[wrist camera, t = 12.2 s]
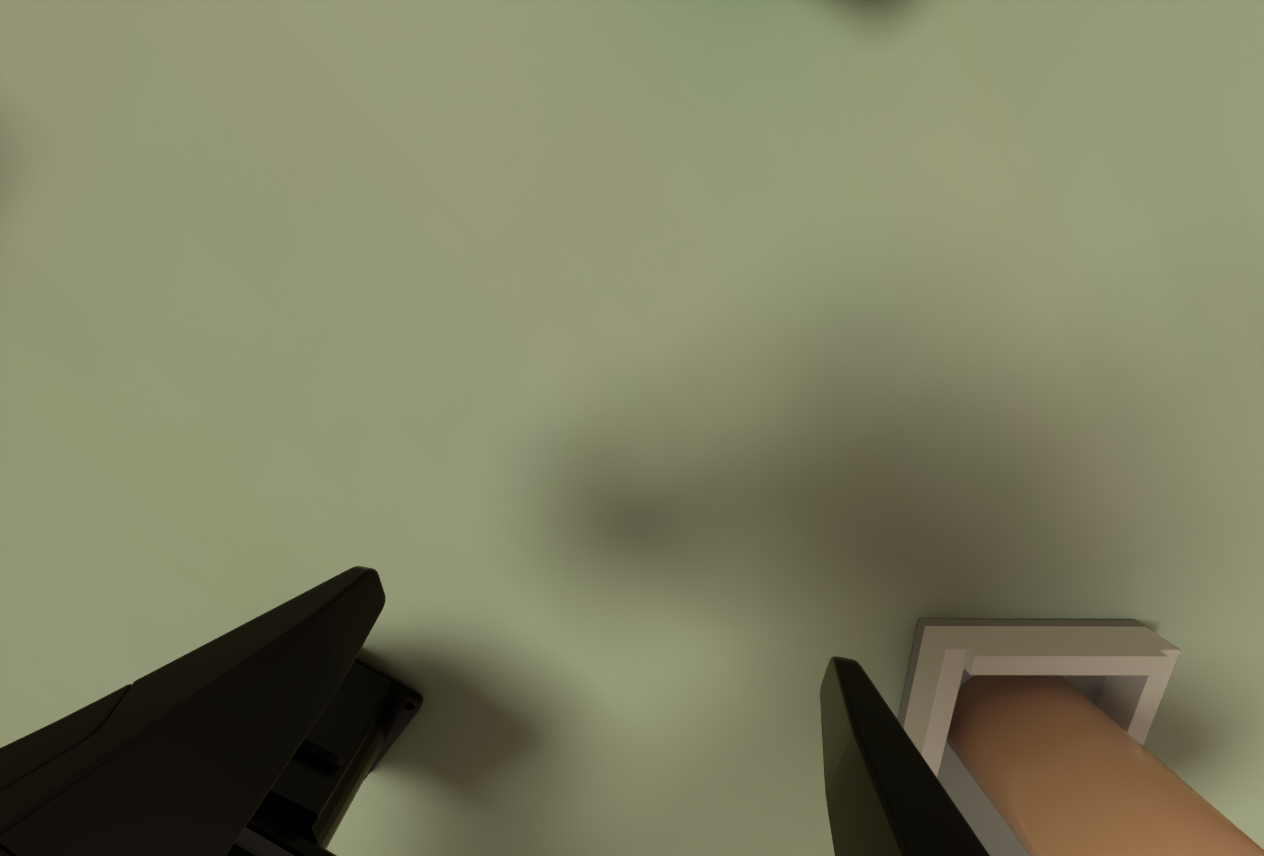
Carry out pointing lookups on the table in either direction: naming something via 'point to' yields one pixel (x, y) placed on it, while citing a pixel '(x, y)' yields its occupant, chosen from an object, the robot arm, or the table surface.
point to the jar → (1078, 776)
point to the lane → (1074, 648)
